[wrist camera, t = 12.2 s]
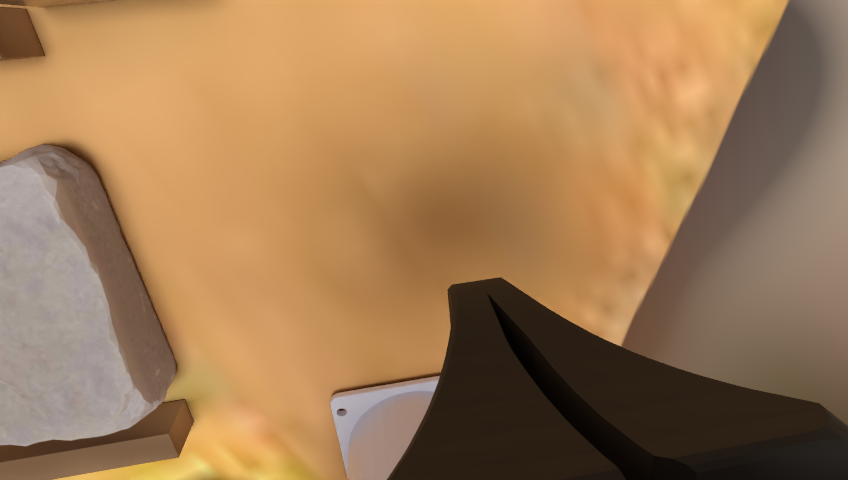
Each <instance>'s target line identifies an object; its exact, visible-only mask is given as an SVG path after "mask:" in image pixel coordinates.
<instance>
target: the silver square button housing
mask: <svg viewBox="0 0 848 480" xmlns="http://www.w3.org/2000/svg"><path fill="white" fill-rule="evenodd" d="M103 1H113V0H0V4H9V5H20V6H31V7H51V6H61V5H72V4H82V3H92V2H103Z"/></svg>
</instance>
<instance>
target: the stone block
mask: <svg viewBox="0 0 848 480" xmlns="http://www.w3.org/2000/svg"><path fill="white" fill-rule="evenodd" d="M175 374H176V364H175V360H174V356H173V354H172V351H171V349H170V347H169V344H168V342H167V340H166V337H165V334H164V332H163V330H162V327H161V325H160V323H159V321H158V318H157V316H156V314H155V311H154V309H153V306H152V304H151V301H150V299H149V297H148V295H147V292H146V290H145V288H144V285H143V283H142V280H141V278H140V276H139V273H138V271H137V269H136V267H135V264H134V261H133V258H132V256H131V254H130V252H129V250H128V248H127V246H126V244H125V242H124V240H123V238H122V236H121V232H120V228H119V225H118V222H117V220H116V217H115V215H114V213H113V211H112V208H111V206H110V204H109V201H108V198H107V195H106V192H105V191H104V189H103V187H102V185H101V183H100V180H99V178H98V176H97V175H96V173H95V172H94V170H93V169H92V168H91V166H90V165H89V164H88V163H87V162H85V161H84V160H82V159H80V158H79V157H77V156H76V155H74V154H72V153H71V152H69V151H68V150H66V149H64V148H63V147H58V146H53V145H47V144H43V145H40V146H36V147H33V148H29V149H26V150H24V151H22V152H20V153H19V154H17V155H16V156H15V157H13V158H11V159H8V160H6V161H3V162H0V445H18V446H28V445H31V444H35V443H38V442H43V441H48V440H53V439H54V440H70V441H72V440H76V439H81V438H92V437H99V436H105V435H108V434H112V433H115V432H117V431H120V430H124V429H128V428H130V427H132V426H133V425H135V424H136V423H137V422H139V421H140V420H141V419H143V418H144V417H145V416H147V415H148V414H149V413H150V412H152V411H153V410H154V409H156V408H157V406H158V405H159V404H161V403H162V402H163V400H164V399H165V397H166V394H167V389H168V388H169V386H170V384H171V383H172V381H173V379H174V377H175Z"/></svg>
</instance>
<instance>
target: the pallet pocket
mask: <svg viewBox="0 0 848 480" xmlns="http://www.w3.org/2000/svg"><path fill="white" fill-rule="evenodd" d="M38 56H45V55H44V52H43V50H42V47H41V45H40V42H39V40H38V37H37V35H36V32H35V30H34V28H33V25H32V23H31V20H30V18H29V15H28V13H27V10H26V9H21V8H9V7H0V60H10V59H19V58H29V57H38ZM193 422H194V421H193V419H192V416H191V414H190V411H189V409H188V407H187V404H186V402H185V399H184V400H178V401H172V402H166V403H161V404H159V405H158V406H157V408H156V409H154V410H153V411H152V412H150V413H149V414H148V415H147V416H145V417H144V418H143V419H141V420H140V421H139V422H137V423H136V424H135V425H133V426H132V427H130V428H128V429H124V430H120V431H117V432H115V433H112V434H108V435H105V436H99V437H92V438H81V439H76V440H72V441H70V440H54V439H53V440H48V441H43V442H38V443H35V444H31V445H28V446H18V445H0V480H52V479H58V478H63V477H69V476H75V475H81V474H86V473H92V472H98V471H103V470H109V469H115V468H120V467H126V466H132V465H137V464H143V463H149V462H155V461H160V460H166V459H172V458H177V457H179V455H180V453H181V451H182V448H183V446H184V444H185V441H186V439H187V436H188V434H189V432H190V429H191V427H192V425H193Z"/></svg>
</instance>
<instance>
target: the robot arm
mask: <svg viewBox="0 0 848 480" xmlns="http://www.w3.org/2000/svg"><path fill="white" fill-rule="evenodd" d="M448 300H449V311H450V322H451V331H450V337H449V342H448V347H447V352H446V357H445V361H444V364H443V368H442V371H441V375H440V376H435V377H429V378H423V379H417V380H411V381H405V382H400V383H394V384H388V385H382V386H376V387H370V388H364V389H358V390H352V391H346V392H341V393H337V394H334V395H333V396H332V398H331V403H330V407H331V411H332V415H333V419H334V423H335V428H336V432H337V436H338V440H339V444H340V449H341V453H342V457H343V461H344V465H345V470H346V474H347V478H348V480H848V426H847V425H846V424H845V423H843V422H842V421H841V420H840V419H838V418H837V417H836V416H834V415H833V414H832V413H831V412H830V411H828V410H827V409H826V408H824V407H823V406H822V405H821V404H819V403H815V402H810V401H805V400H801V399H796V398H791V397H786V396H782V395H777V394H772V393H767V392H762V391H758V390H753V389H748V388H744V387H740V386H736V385H733V384H729V383H725V382H721V381H718V380H714V379H711V378H707V377H703V376H700V375H697V374H693V373H690V372H687V371H684V370H681V369H677V368H675V367H672V366H669V365H666V364H664V363H660V362H658V361H655V360H652V359H649V358H647V357H644V356H641V355H639V354H637V353H634V352H631V351H629V350H627V349H625V348H622V347H620V346H618V345H616V344H613V343H611V342H609V341H607V340H604V339H602V338H600V337H598V336H596V335H594V334H592V333H590V332H588V331H586V330H585V329H583V328H581V327H579V326H577V325H575V324H574V323H572V322H570V321H568V320H566V319H565V318H563V317H561V316H560V315H558V314H556V313H555V312H553V311H551V310H550V309H548V308H546V307H545V306H543V305H542V304H540V303H539V302H537V301H536V300H534V299H532V298H531V297H530V296H528V295H527V294H525V293H524V292H522V291H521V290H519V289H518V288H516V287H515V286H513V285H512V284H510V283H509V282H507V281H506V280H504V279H502V278H501V277H500V278H493V279H487V280H480V281H474V282H467V283H461V284H454V285H451V286H450V288H449V289H448ZM341 408H342V409H345V410H343V411H340V410H338V409H341Z"/></svg>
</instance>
